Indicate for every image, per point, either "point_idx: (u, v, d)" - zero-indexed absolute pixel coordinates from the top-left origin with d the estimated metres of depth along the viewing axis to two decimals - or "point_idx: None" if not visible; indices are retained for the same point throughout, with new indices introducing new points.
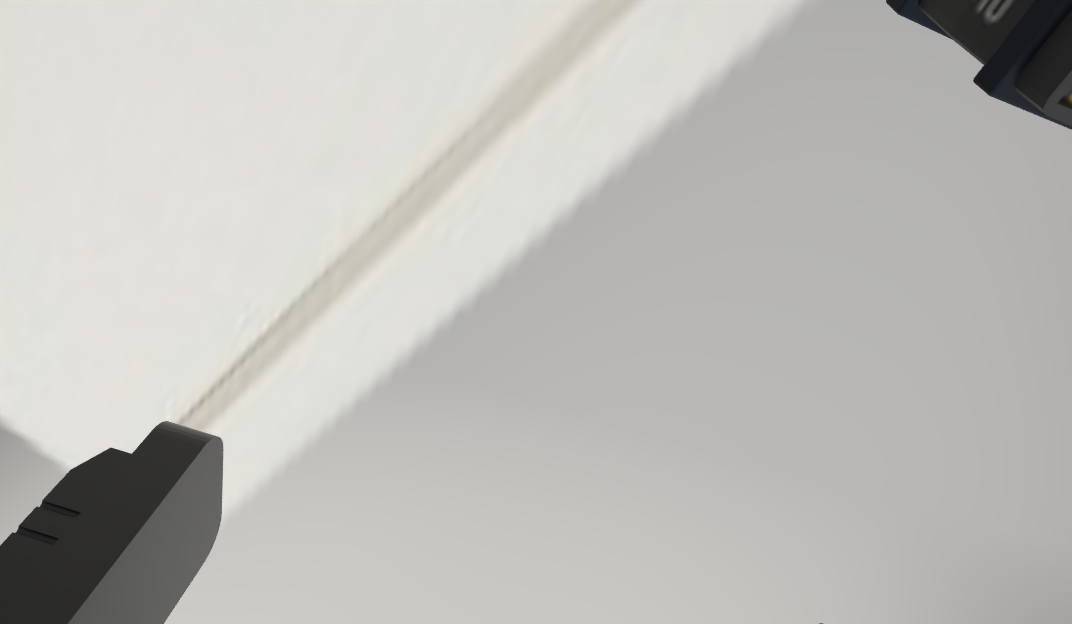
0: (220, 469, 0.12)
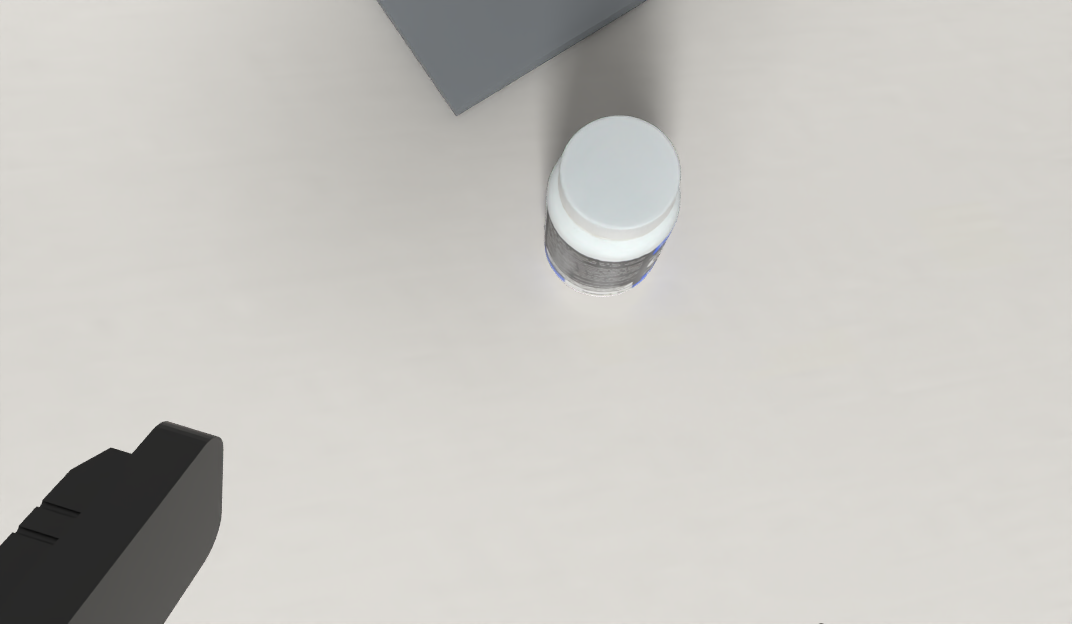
0: (220, 469, 0.12)
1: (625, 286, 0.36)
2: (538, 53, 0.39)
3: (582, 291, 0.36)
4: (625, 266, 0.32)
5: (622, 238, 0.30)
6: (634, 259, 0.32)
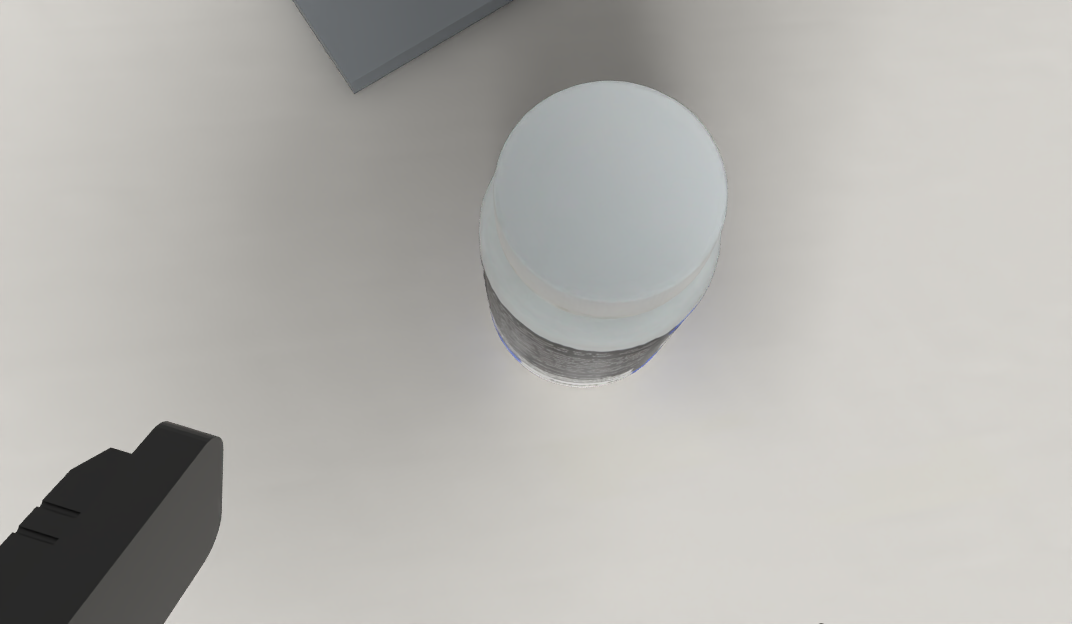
0: (220, 469, 0.12)
1: (621, 375, 0.21)
2: None
3: (550, 380, 0.22)
4: (620, 355, 0.18)
5: (614, 315, 0.16)
6: (637, 347, 0.17)
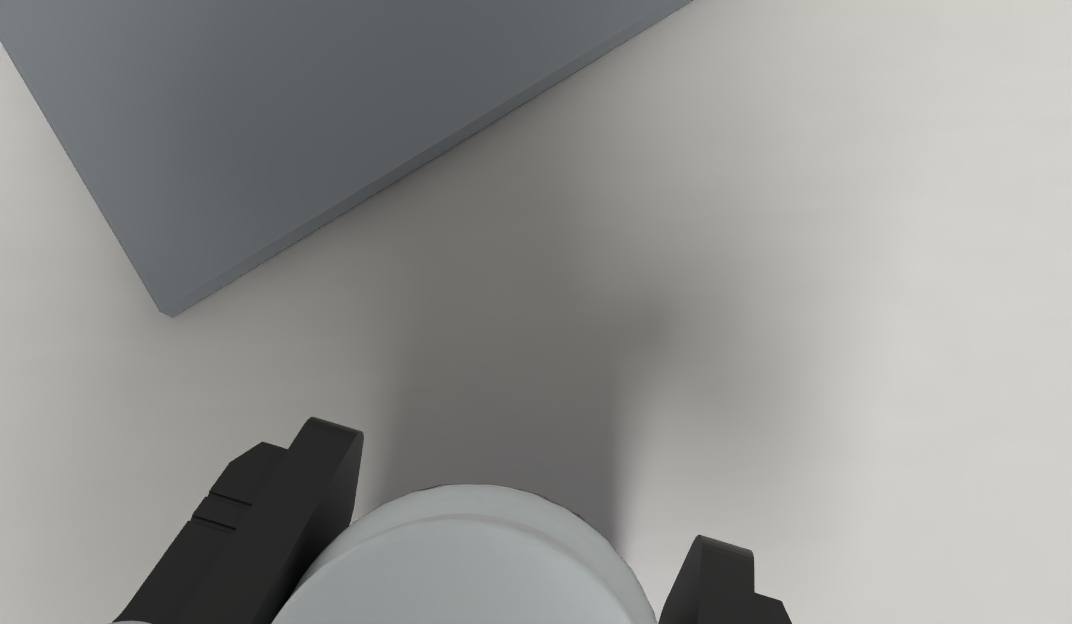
0: (359, 463, 0.13)
1: None
2: (355, 178, 0.17)
3: None
4: None
5: None
6: None
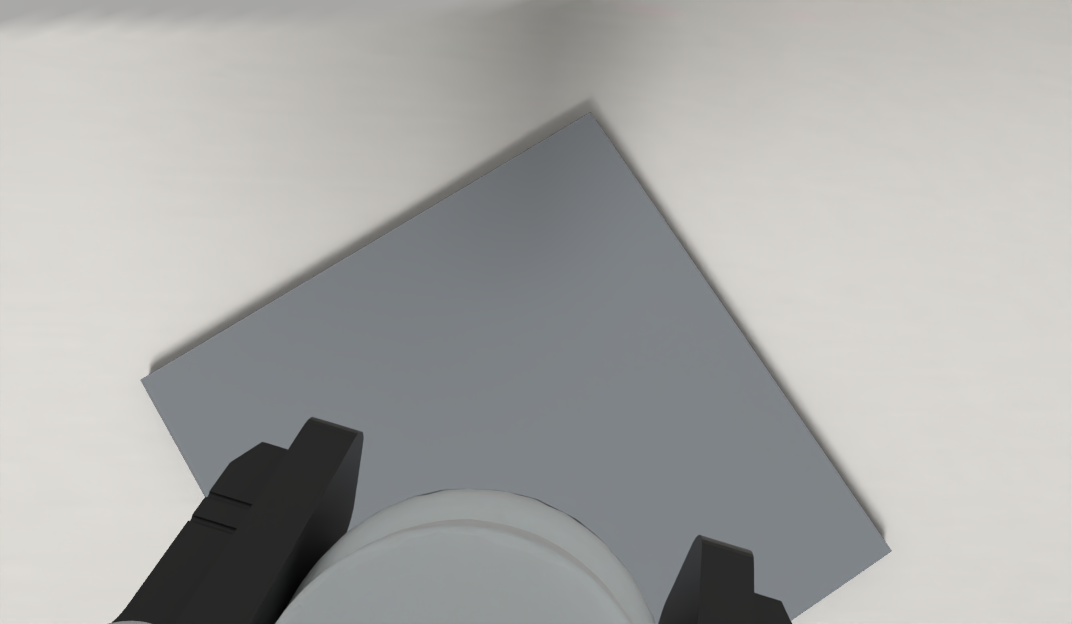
0: (359, 462, 0.13)
1: None
2: None
3: None
4: None
5: None
6: None
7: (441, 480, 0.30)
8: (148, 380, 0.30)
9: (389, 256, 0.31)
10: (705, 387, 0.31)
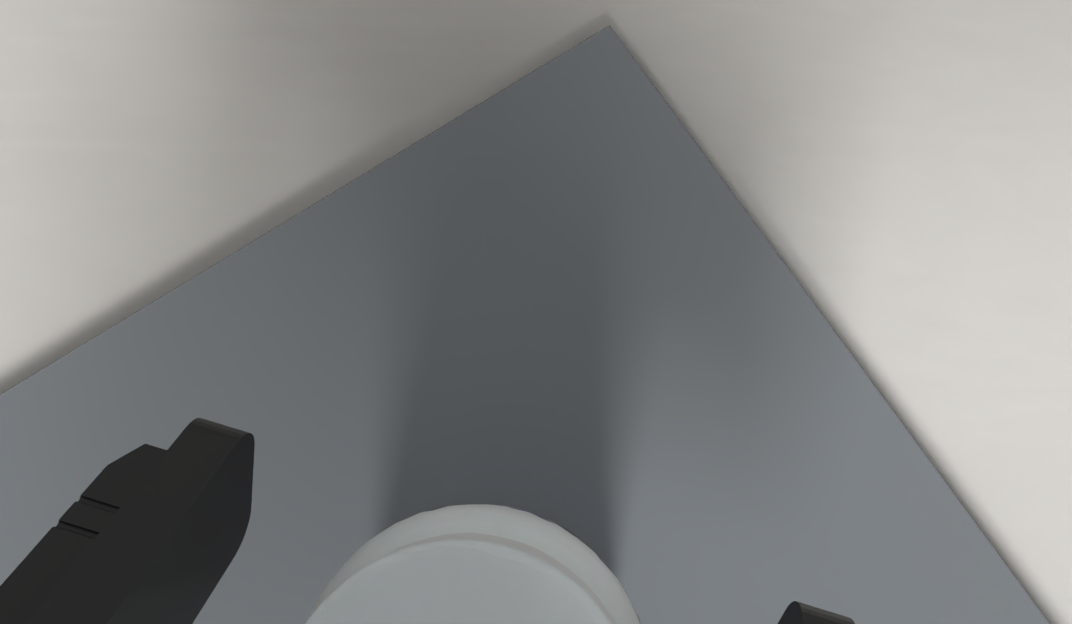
0: (251, 465, 0.12)
1: None
2: None
3: None
4: None
5: None
6: None
7: None
8: None
9: (283, 263, 0.19)
10: (814, 474, 0.18)
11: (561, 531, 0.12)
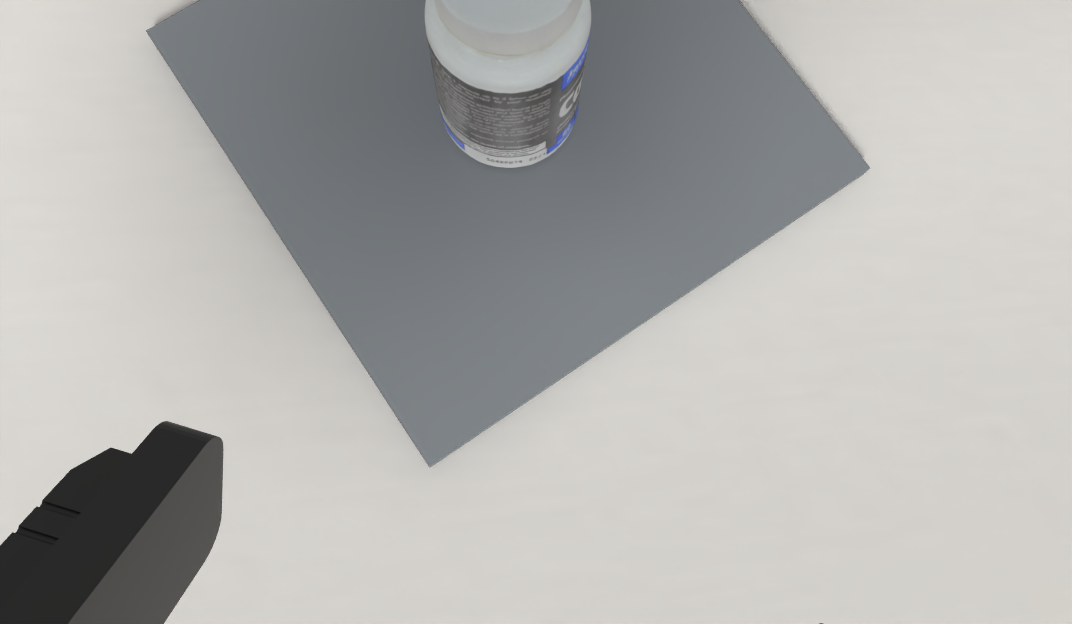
0: (221, 469, 0.12)
1: (537, 148, 0.29)
2: (538, 383, 0.29)
3: (487, 160, 0.30)
4: (527, 104, 0.26)
5: (514, 51, 0.24)
6: (536, 90, 0.25)
7: (440, 114, 0.31)
8: (153, 31, 0.31)
9: None
10: (690, 28, 0.32)
11: None
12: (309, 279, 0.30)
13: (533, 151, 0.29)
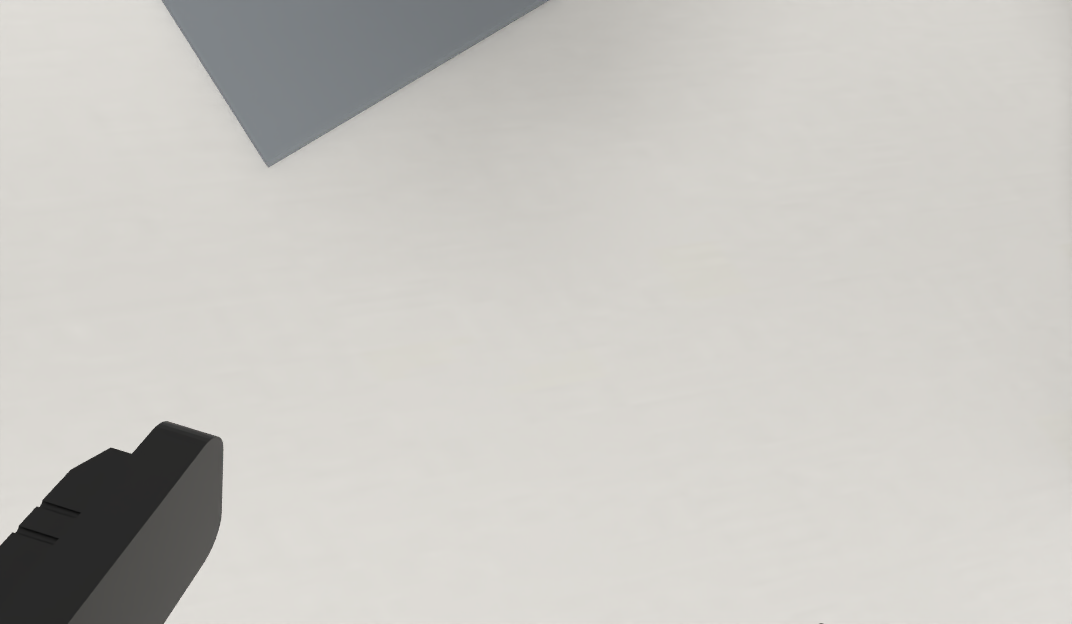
0: (220, 469, 0.12)
1: None
2: (338, 114, 0.45)
3: None
4: None
5: None
6: None
7: None
8: None
9: None
10: None
11: None
12: (193, 48, 0.46)
13: None
